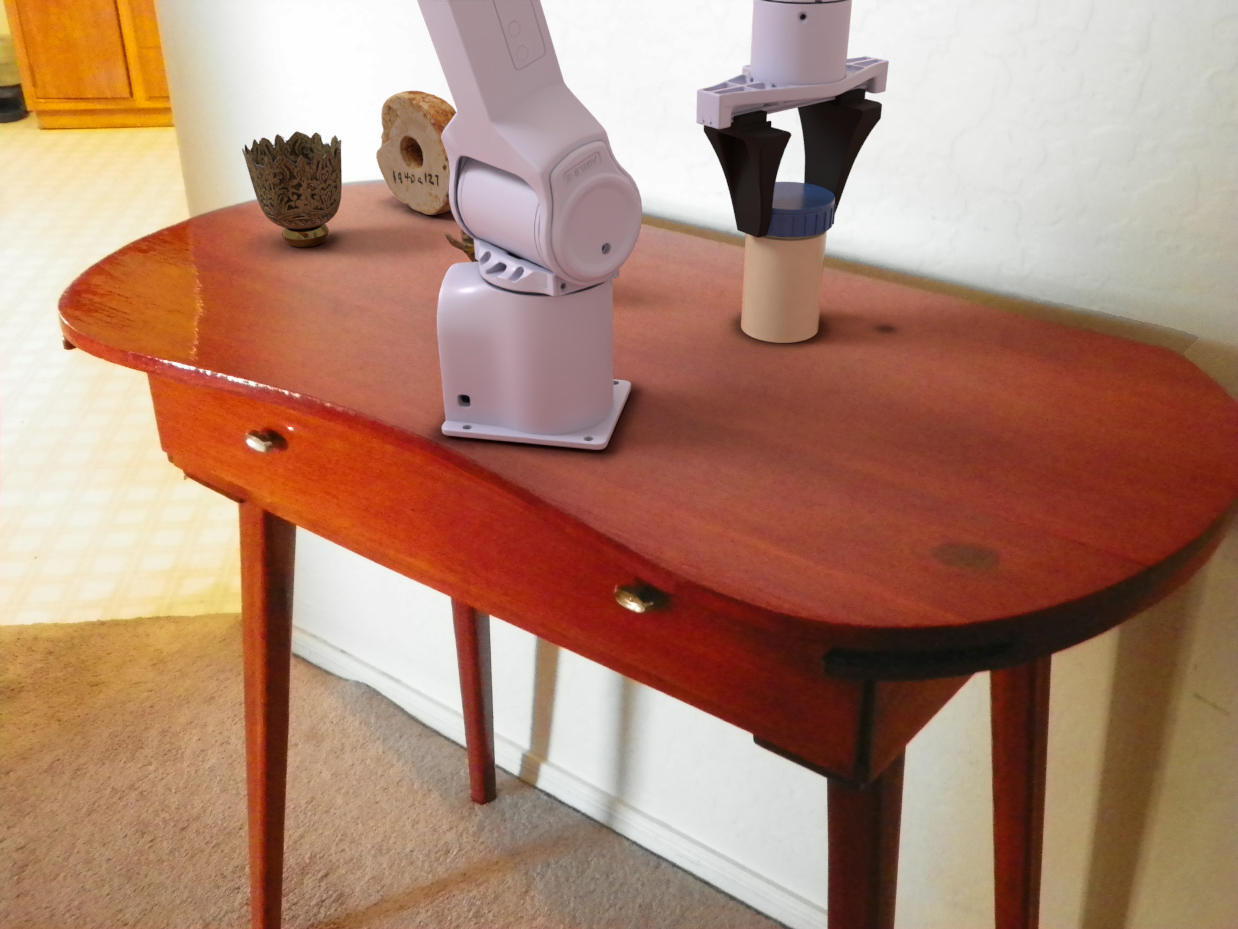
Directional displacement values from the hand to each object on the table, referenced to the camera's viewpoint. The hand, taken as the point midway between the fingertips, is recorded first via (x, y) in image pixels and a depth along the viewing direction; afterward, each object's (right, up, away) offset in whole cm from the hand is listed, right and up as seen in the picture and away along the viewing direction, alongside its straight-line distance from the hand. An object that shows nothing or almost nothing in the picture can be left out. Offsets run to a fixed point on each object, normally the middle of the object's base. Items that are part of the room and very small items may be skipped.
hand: (787, 222), depth 73 cm
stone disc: (-27, +7, +26) cm, 38 cm away
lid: (0, +1, -1) cm, 2 cm away
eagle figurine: (-18, -3, +10) cm, 21 cm away
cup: (-36, +2, +19) cm, 41 cm away
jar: (0, -6, +4) cm, 7 cm away
